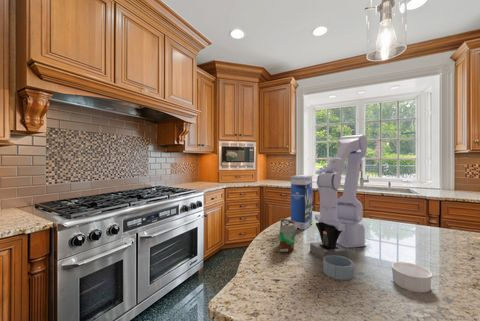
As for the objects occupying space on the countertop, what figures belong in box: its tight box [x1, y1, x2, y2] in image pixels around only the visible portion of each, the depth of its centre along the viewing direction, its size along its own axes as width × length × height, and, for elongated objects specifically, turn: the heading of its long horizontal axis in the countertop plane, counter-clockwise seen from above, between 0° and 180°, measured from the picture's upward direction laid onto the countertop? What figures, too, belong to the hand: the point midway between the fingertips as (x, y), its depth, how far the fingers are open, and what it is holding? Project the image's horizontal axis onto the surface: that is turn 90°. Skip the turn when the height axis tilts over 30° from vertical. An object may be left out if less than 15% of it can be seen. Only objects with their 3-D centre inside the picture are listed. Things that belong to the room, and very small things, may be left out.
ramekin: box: [390, 261, 433, 294], centre depth 61 cm, size 9×9×4 cm
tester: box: [309, 241, 349, 261], centre depth 80 cm, size 9×9×3 cm
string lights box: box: [290, 174, 313, 230], centre depth 117 cm, size 13×8×26 cm, turn 147°
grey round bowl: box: [322, 255, 355, 281], centre depth 68 cm, size 8×8×4 cm
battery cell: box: [323, 230, 334, 250], centre depth 80 cm, size 4×4×8 cm
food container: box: [279, 218, 298, 255], centre depth 86 cm, size 12×6×10 cm, turn 168°
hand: (328, 245), depth 80 cm, fingers closed on battery cell, 4 cm apart
